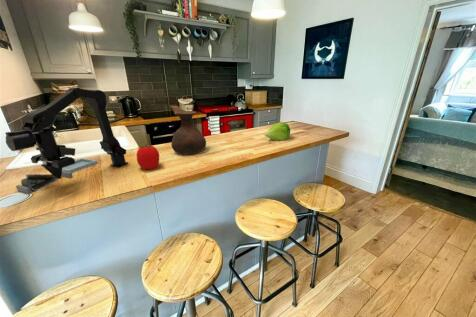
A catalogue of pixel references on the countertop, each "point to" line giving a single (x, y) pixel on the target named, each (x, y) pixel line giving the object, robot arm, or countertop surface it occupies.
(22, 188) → the bay rails
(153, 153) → the red apple
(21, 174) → the countertop surface
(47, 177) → the dark piece
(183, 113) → the dark brown vase
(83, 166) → the tray
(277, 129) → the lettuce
